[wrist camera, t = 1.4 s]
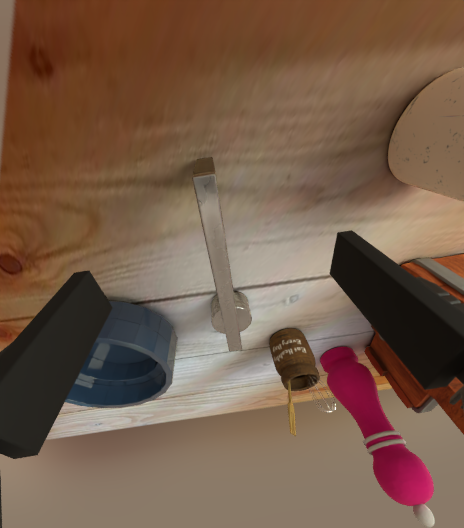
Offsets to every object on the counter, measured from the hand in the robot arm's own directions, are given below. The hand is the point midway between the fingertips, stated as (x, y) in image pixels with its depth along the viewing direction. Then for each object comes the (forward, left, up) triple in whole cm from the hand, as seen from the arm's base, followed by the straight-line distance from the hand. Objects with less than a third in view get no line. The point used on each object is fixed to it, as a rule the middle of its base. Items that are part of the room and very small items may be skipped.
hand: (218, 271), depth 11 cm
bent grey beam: (+6, 0, -11) cm, 12 cm away
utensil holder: (+24, +8, -11) cm, 27 cm away
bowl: (+17, -16, -11) cm, 26 cm away
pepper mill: (+32, +18, -11) cm, 38 cm away
